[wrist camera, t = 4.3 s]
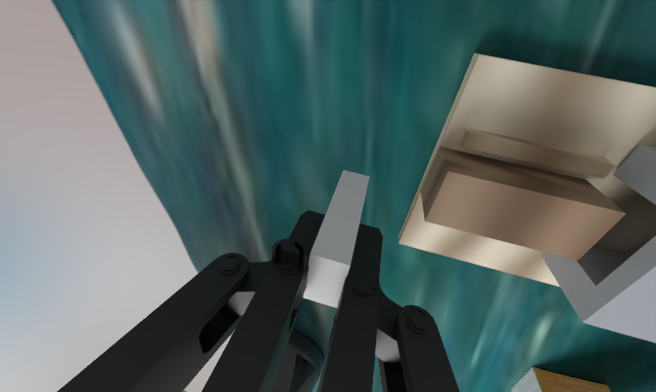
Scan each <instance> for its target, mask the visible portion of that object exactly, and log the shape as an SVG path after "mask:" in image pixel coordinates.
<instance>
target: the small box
mask: <svg viewBox="0 0 656 392" xmlns="http://www.w3.org/2000/svg"><path fill="white" fill-rule="evenodd" d="M512 392H611V391H610V389H609V387H608V386H607V385H604V384H599V383H595V382H590V381H586V380H582V379H578V378H574V377H570V376H565V375H561V374H557V373H553V372H549V371H545V370H542V369H539V368H536V367H532V368H531V369H530V370H529V371H528V372H527V373H526V374H525V375H524V376H523V377H522V378H521V379H520V380H519V381H518V382H517V383H516V384H515V385H514V386H513V387H512Z"/></svg>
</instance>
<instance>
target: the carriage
mask: <svg viewBox="0 0 656 392" xmlns="http://www.w3.org/2000/svg"><path fill="white" fill-rule="evenodd" d="M613 175H614V176H615V177H616V178H618V179H619V180H621V181H622V182H624V183H625V184H626V185H628V186H629V187H631V188H632V189H634V190H635V191H636V192H638V193H639V194H641V195H642V196H644V197H645V198H646V199H648V200H649V201H651V202H652V203H654V204H655V205H656V148H655V147H651V146H646V145H641V144H640V145H639V146H638V147H637V149H636V150H635V151H634V152H633V153H632V154H631V155H630V156H629V158H628V159H627V160H626V161H625V162H624V163H623V164H622V165H621V166H620V168H619V169H618V170H617V171H616V172H615V173H614V174H613ZM541 256H542V258H543V260H544V261H545V263H546V264H547V266H548V268H549V269H550V271H551V273H552V274H553V276H554V277H555V279H556V281H557V282H558V284H559V286H560V287H561V289H562V290H563V292H564V294H565V295H566V297H567V299H568V300H569V302H570V303H571V305H572V307H573V308H574V310H575V312H576V313H577V315H578V316H579V318H580V320H581V321H582V323H586V324H589V325H593V326H596V327H600V328H604V329H607V330H611V331H614V332H618V333H622V334H625V335H629V336H632V337H636V338H640V339H643V340H647V341H650V342H654V343H656V236H655V237H653V238H652V239H651V240H650V241H649V242H647V243H646V244H645V245H644V246H643V247H642V248H640V249H639V250H638V251H637V252H636V253H634V254H633V255H631V254H627V253H623V252H619V251H615V250H611V249H607V248H603V247H599V246H595V245H594V246H593V247H592V248H591V249H590V250H588V251H587V252H586V253H585V254H584V255H583V256H582V257H581V258H580V259H579V260H578V261H577V260H573V259H569V258H566V257H562V256H558V255H554V254H550V253H546V252H544V253H543V254H542V255H541Z"/></svg>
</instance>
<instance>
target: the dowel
mask: <svg viewBox="0 0 656 392" xmlns="http://www.w3.org/2000/svg"><path fill="white" fill-rule="evenodd" d="M421 197H422V205H423V212H424V220H425V222H429V223H433V224H437V225H441V226H445V227H449V228H453V229H457V230H460V231H464V232H468V233H472V234H476V235H480V236H484V237H488V238H492V239H495V240H499V241H503V242H507V243H511V244H515V245H519V246H523V247H527V248H530V249H534V250H538V251H542V252H546V253H550V254H554V255H558V256H562V257H566V258H569V259H573V260H577V261H578V260H579V259H580V258H581V257H582V256H583V255H584V254H585V253H586V252H587V251H588V250H590V249H591V248H592V247H593V246H594V245H595V244H596V243H597V242H598V241H599V240H600V239H601V238H602V237H603V236H604V235H605V234H606V233H607V232H608V231H609V230H610V229H611V228H612V227H613V226H614V225H615V224H616V223H617V222H618V221H619V220H620V219H621V218H622V217H623V216H624V215H625V214H626V212H624V211H623V210H622V209H621V208H620V207H618V206H617V205H616V204H615V203H614V202H612V201H611V200H610V199H609V198H607V197H606V196H605V195H604V194H603V193H601V192H600V191H599V190H598V189H597V188H595V187H594V186H593V185H592V184H591V183H589V182H588V181H587V180H586V179H581V178H577V177H573V176H568V175H564V174H559V173H555V172H551V171H546V170H542V169H537V168H533V167H528V166H524V165H520V164H515V163H511V162H506V161H502V160H498V159H493V158H489V157H484V156H480V155H476V154H471V153H467V152H462V151H458V150H454V149H449V148H445V147H439V150H438V152H437V154H436V157H435V159H434V161H433V164H432V166H431V169H430V171H429V173H428V176H427V178H426V180H425V183H424V185H423V187H422V190H421Z"/></svg>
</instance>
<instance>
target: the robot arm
mask: <svg viewBox="0 0 656 392" xmlns="http://www.w3.org/2000/svg"><path fill="white" fill-rule="evenodd" d="M369 177H370V176H366V175H362V174H358V173H354V172H350V171H346V170H343V173H342V175H341V178H340V180H339V183H338V185H337V188H336V190H335V193H334V195H333V198H332V200H331V203H330V205H329V208H328V210H327V213H326V215H324V214H320V213H316V212H313V211H309V210H308V211H307V212H305V213H304V214H302V215H301V216H300V218H299V220H298V222H297V224H296V226H295V228H294V230H293V231H292V233H291V235H290V237H289V239H283V240H280V241H278V242H276V243H275V244H274V246H273V247H272V260H271V261H268V262H261V263H258V262H248V261H247V259H246V258H245V257H244V256H243V255H240V254H237V253H228V254H224V255H222V256H220V257H218V258H217V259H215V260H214V261H213V262H212V263H210V264H209V265H208V266H207V267H206V268H204V269H203V270H202V271H201V272H200V273H198V274H197V275H196V276H195V277H194V278H192V280H190V281H189V282H188V283H187V284H185V285H184V286H183V287H182V288H181V289H179V290H178V291H177V292H176V293H175V294H173V295H172V296H171V297H170V298H169V299H167V300H166V301H165V302H164V303H163V304H161V305H160V306H159V307H158V308H157V309H155V310H154V311H153V312H152V313H151V314H149V315H148V316H147V317H146V318H145V319H143V320H142V321H141V322H140V323H139V324H137V326H135V327H134V328H133V329H132V330H130V331H129V332H128V333H127V334H126V335H124V336H123V337H122V338H121V339H120V340H119V341H117V342H116V343H115V344H114V345H112V346H111V347H110V348H109V349H108V350H106V351H105V352H104V353H103V354H102V355H100V356H99V357H98V358H97V359H96V360H94V361H93V362H92V363H91V364H90V365H88V366H87V367H86V368H85V369H84V370H83V371H81V372H80V373H79V374H78V375H77V376H75V377H74V378H73V379H72V380H71V381H70V382H68V383H67V384H66V385H65V386H63V387H62V388H61V389H60V390H59V391H57V392H186V391H184V389H185V388H186V387H187V385H188V384H189V383H190V382H191V381H192V380H193V378H194V377H195V376H196V375H197V374H198V372H199V371H200V370H201V369H202V368H203V366H204V365H205V364H206V363H207V362H208V361H209V359H210V358H211V357H212V356H213V355H214V353H215V352H216V351H217V350H218V349H219V348H220V346H221V345H222V344H223V343H224V342H225V340H226V339H227V338H228V337H229V336H230V335H231V333H232V332H233V331H234V330H235V331H234V333H233V335H232V336H231V338H230V340H229V342H228V344H227V346H226V348H225V350H224V351H223V353H222V355H221V357H220V359H219V361H218V362H217V364H216V366H215V368H214V370H213V372H212V374H211V376H210V377H209V379H208V381H207V383H206V385H205V386H204V388H203V390H202V392H312V390H313V388H314V386H315V384H316V383H317V381H318V379H319V376H320V372H321V368H322V364H323V357H322V354H321V352H320V350H319V349H318V348H317V347H316V345H315V344H314V343H313V342H311V341H310V340H309V339H308V338H306V337H305V336H303V335H302V334H300V333H298V332H296V331H294V330H293V327H294V324H295V321H296V318H297V315H298V313H299V309H300V303H301V300H302V298H305V299H309V300H312V301H315V302H318V303H322V304H325V305H328V306H331V307H335V308H337V311H336V315H335V318H334V322H333V325H332V328H331V335H330V339H329V343H328V347H327V352H326V356H325V360H324V364H323V369H322V373H321V377H320V381H319V386H318V390H317V392H372V385H373V373H374V362H375V355H376V356H377V357H378V360H379V367H380V374H381V381H382V388H383V392H459V389H458V386H457V383H456V380H455V377H454V374H453V372H452V369H451V366H450V363H449V360H448V357H447V354H446V351H445V348H444V345H443V342H442V339H441V336H440V333H439V331H438V328H437V325H436V323H435V321H434V319H433V317H432V316H431V315H430V314H429V313H428V312H427V311H426V310H424V309H422V308H421V307H418V306H414V305H408V306H405V307H403V308H402V307H401V306H399V305H398V304H396V303H394V302H393V301H391V300H390V299H389V298H387V296H386V295H385V294H384V293H383V292H382V290H381V288H380V285H379V272H380V261H381V251H382V240H383V237H382V234H381V232H380V230H379V229H378V228H374V227H371V226H367V225H363V224H360V219H361V214H362V209H363V205H364V200H365V195H366V191H367V186H368V182H369Z"/></svg>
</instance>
